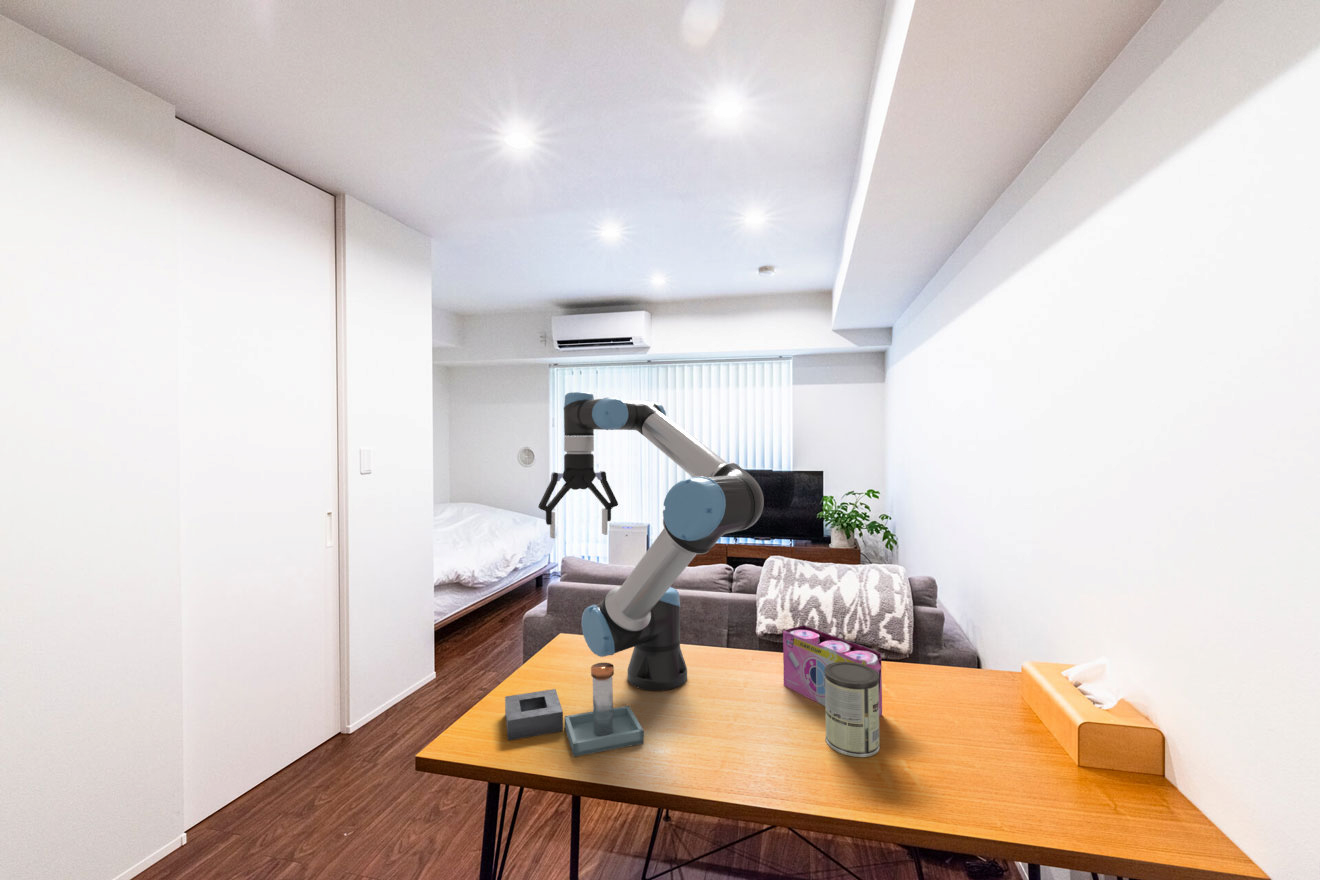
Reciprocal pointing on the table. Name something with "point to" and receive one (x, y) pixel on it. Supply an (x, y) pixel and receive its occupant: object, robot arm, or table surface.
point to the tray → (587, 742)
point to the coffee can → (852, 709)
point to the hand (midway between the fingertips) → (579, 535)
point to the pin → (602, 698)
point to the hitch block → (533, 714)
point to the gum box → (820, 660)
